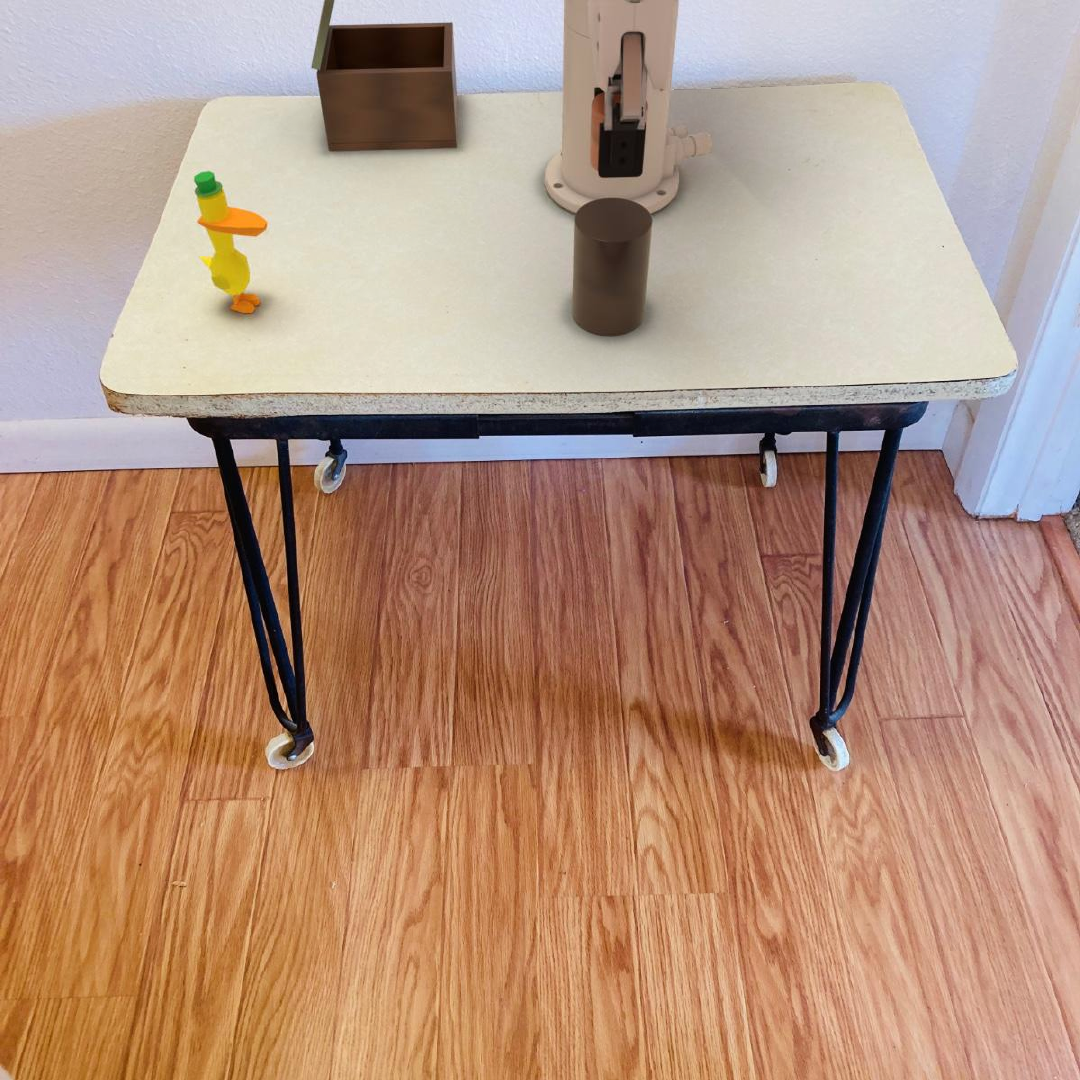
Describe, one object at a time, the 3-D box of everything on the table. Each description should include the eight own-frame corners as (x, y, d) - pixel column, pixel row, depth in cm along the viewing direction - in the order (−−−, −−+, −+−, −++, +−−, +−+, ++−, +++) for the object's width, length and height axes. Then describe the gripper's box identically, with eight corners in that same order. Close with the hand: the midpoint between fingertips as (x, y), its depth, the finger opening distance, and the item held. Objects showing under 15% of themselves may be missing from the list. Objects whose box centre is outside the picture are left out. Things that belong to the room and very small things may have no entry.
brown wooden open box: (457, 97, 114) (452, 22, 108) (456, 147, 107) (451, 70, 101) (336, 100, 113) (325, 25, 107) (328, 151, 107) (316, 74, 101)
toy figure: (293, 300, 92) (265, 171, 82) (276, 326, 89) (245, 196, 80) (220, 287, 93) (184, 159, 84) (201, 313, 90) (162, 184, 81)
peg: (629, 141, 82) (633, 84, 78) (652, 169, 80) (657, 111, 76) (580, 153, 81) (582, 95, 77) (603, 181, 79) (606, 123, 75)
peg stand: (625, 284, 93) (631, 190, 86) (656, 325, 89) (665, 231, 82) (560, 301, 91) (562, 207, 85) (590, 343, 88) (594, 249, 81)
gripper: (714, -59, 61) (682, 222, 75) (676, -168, 71) (654, 97, 85) (580, -56, 60) (573, 225, 75) (562, -166, 71) (559, 99, 85)
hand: (616, 154), depth 80 cm, fingers closed on peg, 4 cm apart
